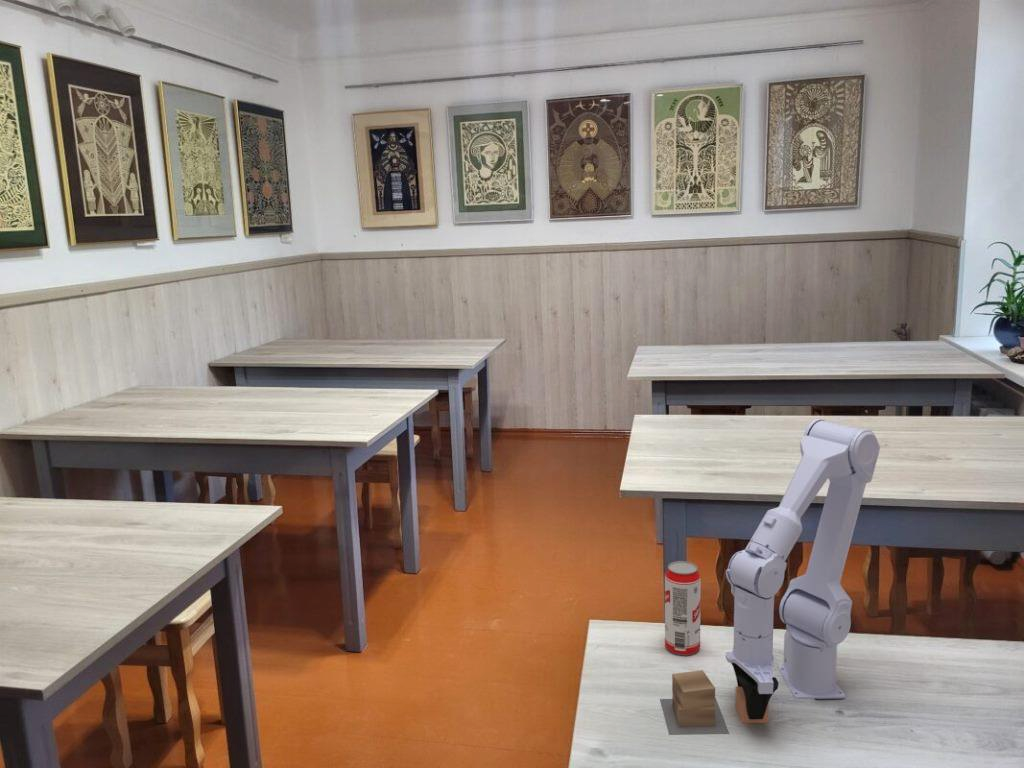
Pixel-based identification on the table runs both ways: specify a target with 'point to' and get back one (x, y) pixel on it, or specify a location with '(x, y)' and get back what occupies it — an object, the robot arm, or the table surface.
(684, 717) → the slab bottom
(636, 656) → the table surface
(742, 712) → the cube
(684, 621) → the beer can
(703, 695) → the slab top
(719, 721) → the mat
